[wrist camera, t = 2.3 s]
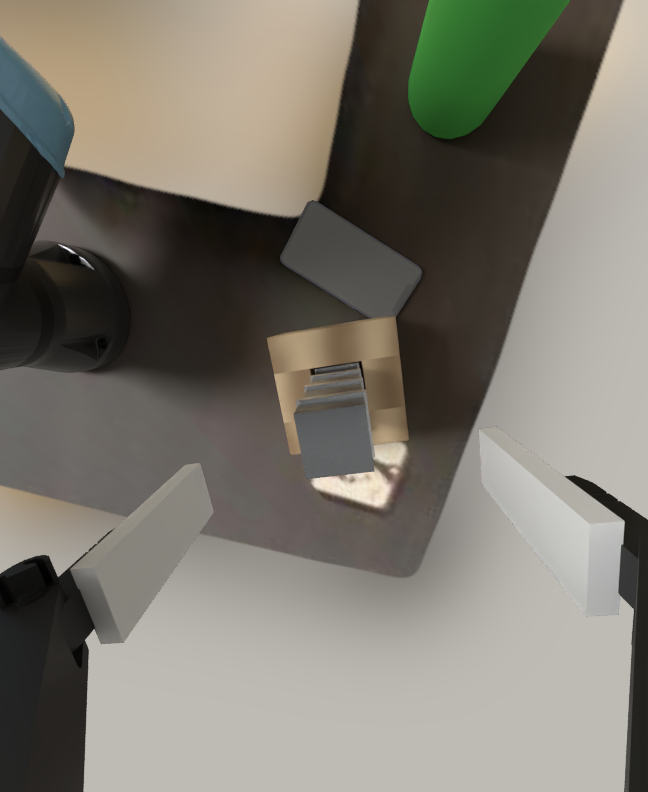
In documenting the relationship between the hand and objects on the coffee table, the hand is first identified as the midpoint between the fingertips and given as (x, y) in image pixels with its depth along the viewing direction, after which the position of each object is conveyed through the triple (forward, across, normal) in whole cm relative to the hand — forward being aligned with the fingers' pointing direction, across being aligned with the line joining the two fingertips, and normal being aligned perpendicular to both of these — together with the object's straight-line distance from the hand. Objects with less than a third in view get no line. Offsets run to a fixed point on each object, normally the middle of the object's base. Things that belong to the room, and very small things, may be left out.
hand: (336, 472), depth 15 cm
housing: (+25, 0, 0) cm, 25 cm away
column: (+25, 0, 0) cm, 25 cm away
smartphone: (+26, +3, +12) cm, 29 cm away
